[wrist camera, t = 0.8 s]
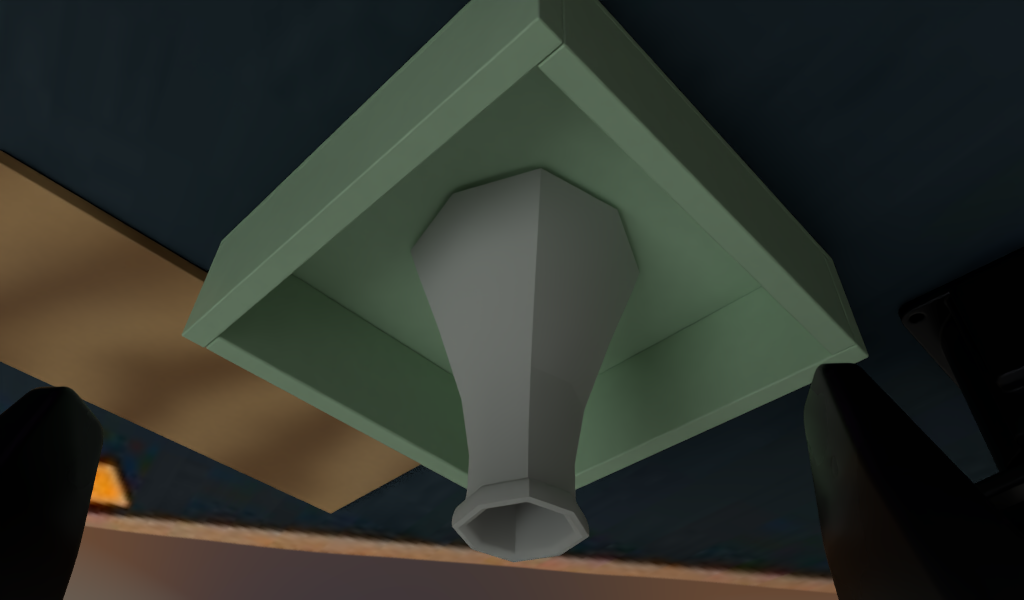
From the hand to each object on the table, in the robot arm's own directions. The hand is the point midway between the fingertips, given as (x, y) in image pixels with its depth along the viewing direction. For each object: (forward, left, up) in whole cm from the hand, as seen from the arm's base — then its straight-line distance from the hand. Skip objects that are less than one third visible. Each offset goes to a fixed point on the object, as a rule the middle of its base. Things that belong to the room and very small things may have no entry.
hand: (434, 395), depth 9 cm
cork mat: (-4, +20, -14) cm, 25 cm away
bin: (-8, +6, -14) cm, 17 cm away
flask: (-8, +6, -14) cm, 17 cm away
